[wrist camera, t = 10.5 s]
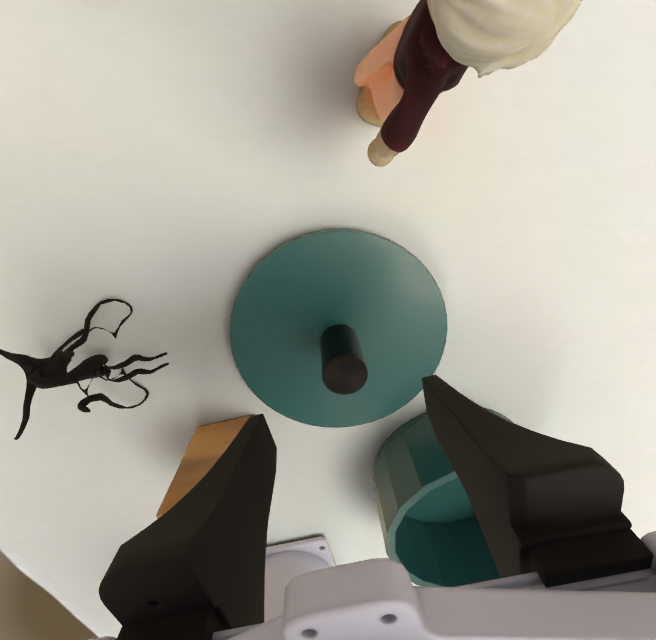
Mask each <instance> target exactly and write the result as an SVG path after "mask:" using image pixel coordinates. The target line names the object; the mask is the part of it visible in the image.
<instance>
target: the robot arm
mask: <svg viewBox="0 0 656 640" xmlns="http://www.w3.org/2000/svg"><path fill="white" fill-rule="evenodd" d="M422 384H423V391H424V397H425V403H426V410H427V415H428V418H429V420H430V423H431V426H432V428H433V430H434V433H435V435H436V437H437V439H438V441H439V443H440V445H441V446H442V448H443V450H444V452H445V454H446V456H447V457H448V459H449V461H450V463H451V465H452V467H453V468H454V470H455V472H456V474H457V476H458V477H459V479H460V481H461V483H462V485H463V487H464V489H465V492H466V494H467V496H468V499H469V501H470V503H471V506H472V508H473V510H474V513H475V515H476V517H477V520H478V522H479V525H480V527H481V529H482V532H483V534H484V537H485V539H486V542H487V544H488V547H489V549H490V552H491V554H492V557H493V559H494V562H495V564H496V567H497V569H498V572H499V574H500V577H501V578H500V579H495V580H490V581H484V582H479V583H474V584H468V585H463V586H458V587H424V586H412V584H411V580H410V575H409V572H408V571H407V570H406V568H405V567H404V566H403V564H401V563H399V562H396V561H394V560H391V559H388V558H382V559H369V560H364V561H359V562H354V563H349V564H344V565H339V566H336V565H335V562H334V559H333V557H332V554H331V551H330V549H329V546H328V543H327V540H326V538H324V537H322V536H320V537H315V538H310V539H305V540H300V541H295V542H290V543H285V544H280V545H275V546H270V547H266V541H267V527H268V518H269V512H270V506H271V499H272V493H273V487H274V480H275V474H276V454H277V448H276V445H275V443H274V440H273V438H272V435H271V432H270V430H269V427H268V425H267V422H266V420H265V417H264V415H263V414H259V415H255V416H250V417H249V419H248V420H247V421H246V423H245V424H244V425H243V427H242V428H241V430H240V431H239V433H238V434H237V435H236V437H235V438H234V440H233V441H232V442H231V444H230V445H229V446H228V448H227V449H226V450H225V452H224V453H223V454H222V455H221V457H220V458H219V459H218V460H217V462H216V463H215V464H214V465H213V467H212V468H211V469H210V470H209V471H208V472H207V474H206V475H205V476H204V477H203V478H202V479H201V480H200V481H199V482H198V483H197V484H196V485H195V486H194V487H193V488H192V489H191V490H190V491H189V492H188V493H187V494H186V495H185V496H184V497H183V498H182V499H181V500H179V501H178V502H177V503H176V504H175V505H174V506H173V507H172V508H171V509H169V510H168V511H167V512H166V513H165V514H163V515H162V516H161V517H160V518H158V519H157V520H156V521H155V522H153V523H152V524H151V525H149V526H148V527H147V528H145V529H144V530H142V531H141V532H140V533H138V534H137V535H135V536H134V537H133V538H131V539H130V540H128V541H127V542H125V543H124V544H122V545H121V546H120V548H119V550H118V551H117V553H116V555H115V557H114V559H113V561H112V563H111V565H110V567H109V569H108V570H107V572H106V574H105V576H104V578H103V580H102V582H101V584H100V587H99V595H100V599H101V600H102V602H103V604H104V605H105V606H106V607H107V609H108V610H109V611H110V612H111V613H112V614H113V615H114V617H115V618H116V619H117V620H118V621H119V622H120V623H121V625H122V628H121V630H120V633H119V635H118V637H117V639H116V638H114V637H110V636H107V637H100V638H94V639H90V640H656V531H654V532H651V533H648V534H646V535H644V536H643V537H642V538H641V540H640V539H639V538H638V537H637V536H636V535H635V533H634V532H633V531H632V530H631V529H630V528H631V526H632V524H631V522H630V520H629V519H628V518H627V517H626V516H625V515H624V514H623V513H622V512H621V506H622V499H623V493H624V481H623V479H622V477H621V475H620V473H618V472H617V471H616V470H615V469H614V468H613V467H612V466H611V465H610V464H609V463H608V462H607V461H606V460H605V459H604V458H603V457H602V456H600V455H599V454H598V453H597V452H596V451H594V450H593V449H592V448H590V447H586V446H582V445H578V444H574V443H570V442H566V441H562V440H558V439H555V438H552V437H549V436H546V435H543V434H540V433H537V432H534V431H531V430H529V429H526V428H524V427H521V426H519V425H516V424H514V423H512V422H509V421H507V420H505V419H503V418H501V417H499V416H497V415H495V414H493V413H491V412H489V411H487V410H486V409H484V408H482V407H481V406H479V405H477V404H476V403H474V402H473V401H471V400H470V399H468V398H467V397H465V396H464V395H462V394H461V393H459V392H458V391H457V390H455V389H454V388H452V387H451V386H450V385H448V384H447V383H446V382H445V381H443V380H442V379H441V378H439V377H438V376H437V375H432V376H428V377H423V378H422Z"/></svg>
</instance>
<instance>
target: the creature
mask: <svg viewBox="0 0 656 640" xmlns="http://www.w3.org/2000/svg"><path fill="white" fill-rule="evenodd" d="M112 301H118V302H122V303H125V304H127V305H128V306H129V307H130V311H131V313H130V314H129V315H128V316H127V317H126V318H125V319H123V320H122V322H121V323H120V325H119V327H118V328H117V330H116V332H115V333H112V332H110V333H111V334H112V335H113V336H114V337H115V338H116V337H117V333H118V330H119V328H120V326H121V325H122V324H123V323H124V322H125V321H126V320H127V319H128V318H129V316H130V315H131V314H132V311H133V310H132V307H131V305H129V304H128V303H127V302H125V301H122V300H119V299H106V300H103V301H100V302H99V303H98V304H96V305H95V306H94V308H93V309H92V310H91V311H90V312H89V313H88V315H87V317H86V319H85V324H84V329H82V330H80V331H79V332H77V333H76V334H74V335H73V336H72V337H71V338H69V339H68V340H67V341H66V342H65V343H64V344H63V345H61V346H60V347H59V348H58V349H57V350H56V351H55V352H54V353H53V355H52V356H51V357H50V358H44V359H37V358H33V357H30V356H27V355H22V354H14V353H10V352H6V351H4V350H1V349H0V355H2V356H4V357H5V358H7V359H9V360H11V361H13V362H15V363H16V364H18V365H19V366H20V367H21V368H22V369H23V370H24V372H25V374H26V379H27V387H26V393H25V399H24V405H23V419H22V423H21V426H20V429H19V431H18V433H17V435H16V437H15V438H14V439H15V440H17V439H19V437H20V436H21V435H22V433H23V431H24V429H25V427H26V424H27V422H28V419H29V416H30V405H31V401H32V397H33V395H34V392H35V390H36V387H38V388H41V389H45V388H53V387H58V386H64V385H68V384H73V383H77V384H78V386H79V388H80V389H81V390H82V391H83V392H84V393H85V394H86V395H87V397H86V398H84V399H82V400H81V401H80V402H79V403H78V409H79V410H81V411H83V412H90V409H89V408H88V407H86V405H88V404H89V403H90V402H93V401H99V400H101V401H103V402H106V403H107V404H109V405H110V406H113V407H116V408H123V409H124V408H134V407H136V406H139V405H140V404H142V403H143V402H144V401H145V400H146V399H147V397H148V395H149V392H148V391H147V390H146V389H145V388H143V387H142V386H140V385H139V384H137V383H135V382H134V381H132V380H131V379H130V378H132V377H134V376H136V375H137V374H151V373H154V372H155V371H157V370H159V369H161V368H163V367H164V366H166V365H168V364H169V363H165V364H163V365H160V366H158V367H157V368H155V369H153V370H146V369H135V370H133V371H132V372H130V373H129V374H126V373H125V371H124V369H123V368H124V367H126V366H128V365H130V364H131V363H133V362H134V361H137V360H140V361H151V360H154V359H156V358H159V357H162V356H164V355H166V354H167V352H166V353H162V354H160V355H157V356H155V357H143V356H141V355H136V354H135V355H132V356H131V357H129V358H128V359H127V360H126V361H124V362H122V363H119V364H117V365H115V366H110V367H109V366H107V365H106V363H107V362H108V358H107V357H106V356H105V355H94V356H91V357H89V358H87V359H86V360H84V361H83V362H81V363H80V364H79V365H78V366H77V367H75V368H74V369H73V370H71V371H70V372H68V373H67V366H68V364H69V363H70V361H71V358H72V357H73V356H74V352H73V350H74V349H76V348H77V347H79V346H81V345H82V344H84V343H85V342H86V340H87V337H88V334H89V332H90V331H91V330H92V329H94V328H99V327H93V328H92V329H90V321H91V319H92V317H93V316H94V314H95V313H96V311H97V310H98V308H99V307H100V305H101V304H105V303H108V302H112ZM89 329H90V330H89ZM100 329H103V328H100ZM105 330H106V329H105ZM107 331H108V330H107ZM82 334H83V335H82ZM81 335H82V337H81V338H80V339H79V340H77V341H76V342H75V343H73V344H72V345H71V346H70V347H68V348H67V349H66V350H65V351H64V352H62V349H63V348H64V347H65V346H66V345H68V344H69V343H70V342H72V341H73V340H75V339H77V338H78V337H80V336H81ZM103 365H104V366H103ZM120 368H122V370H121V373H120V374H124V376H122V377H120V378H117V379H114V378H112V379H113V380H111V379H109V376H110V373H111V370H110V369H120ZM120 374H119V375H120ZM104 375H106V377H107V379H105V378H103V377H102V376H104ZM119 375H118V376H119ZM118 376H117V377H118ZM96 377H100V378H102V379H104V380H109V381H113V382H122V381H125V380H128V379H129V380H130V381H131V382H133V383H134V384H135V385H136V386H138V387H140V388H142V389H143V390H144V391H145V392H146V396H145V398H144V400H143V401H142V402H140V403H139V404H138V405H134V406H130V407H125V406H122V405H119V404H117V403H114V402H112V401H111V400H110V399H109V398H108V397H107V396H105V395H104V394H102V393H99V394H94V395H90V396H89V395H88V393H87V391H88V387H89V385H90V384H89V385H88V387H87V389H85V390H83V389H82V388H81V387H80V384H79V382H78V381H81V380H85V379H90V378H92V379H93V378H96ZM115 378H116V377H115ZM92 379H91V381H92ZM90 383H91V382H90Z"/></svg>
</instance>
